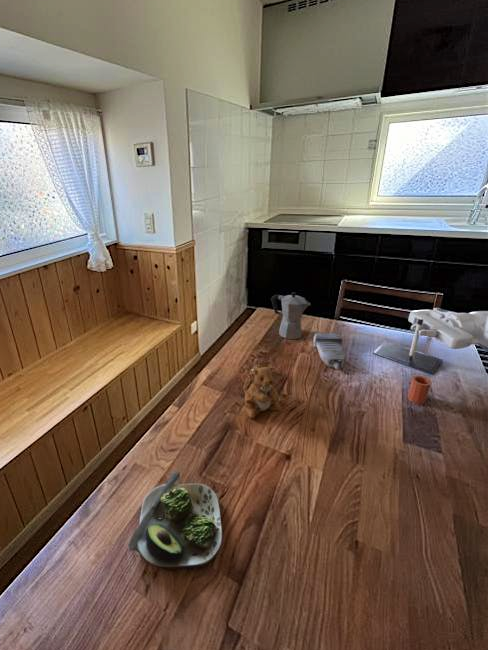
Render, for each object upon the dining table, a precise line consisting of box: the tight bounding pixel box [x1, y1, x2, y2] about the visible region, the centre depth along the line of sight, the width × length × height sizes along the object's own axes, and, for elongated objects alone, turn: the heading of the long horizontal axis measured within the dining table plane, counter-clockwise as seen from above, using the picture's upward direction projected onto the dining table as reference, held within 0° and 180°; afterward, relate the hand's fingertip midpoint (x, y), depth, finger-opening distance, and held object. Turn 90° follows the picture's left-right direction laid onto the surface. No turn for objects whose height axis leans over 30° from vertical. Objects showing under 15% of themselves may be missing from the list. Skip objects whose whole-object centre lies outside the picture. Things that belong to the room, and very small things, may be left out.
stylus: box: [409, 317, 424, 358], centre depth 111 cm, size 1×1×15 cm
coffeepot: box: [270, 291, 311, 340], centre depth 131 cm, size 15×9×18 cm, turn 53°
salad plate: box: [127, 470, 223, 570], centre depth 68 cm, size 19×18×5 cm
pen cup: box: [407, 375, 433, 405], centre depth 95 cm, size 4×4×7 cm
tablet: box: [372, 340, 443, 376], centre depth 115 cm, size 18×11×1 cm, turn 42°
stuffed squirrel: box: [243, 363, 282, 419], centre depth 97 cm, size 10×14×13 cm
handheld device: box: [312, 332, 347, 371], centre depth 118 cm, size 10×20×5 cm, turn 173°
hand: (415, 330), depth 110 cm, fingers closed on stylus, 1 cm apart
